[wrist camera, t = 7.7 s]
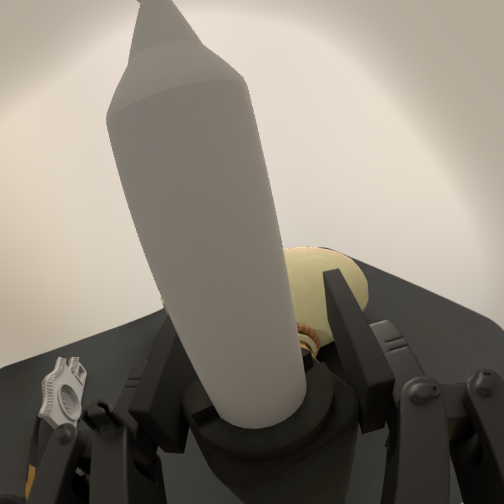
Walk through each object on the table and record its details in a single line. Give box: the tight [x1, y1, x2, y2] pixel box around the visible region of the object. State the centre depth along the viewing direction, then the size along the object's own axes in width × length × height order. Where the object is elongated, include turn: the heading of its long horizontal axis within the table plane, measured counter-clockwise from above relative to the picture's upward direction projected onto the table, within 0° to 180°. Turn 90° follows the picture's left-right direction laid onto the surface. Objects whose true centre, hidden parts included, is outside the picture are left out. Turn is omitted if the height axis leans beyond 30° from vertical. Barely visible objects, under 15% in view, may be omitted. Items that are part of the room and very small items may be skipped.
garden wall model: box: [38, 357, 87, 430], centre depth 23 cm, size 12×2×6 cm, turn 17°
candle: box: [106, 0, 360, 504], centre depth 8 cm, size 5×5×25 cm
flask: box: [283, 247, 368, 360], centre depth 28 cm, size 9×16×18 cm
